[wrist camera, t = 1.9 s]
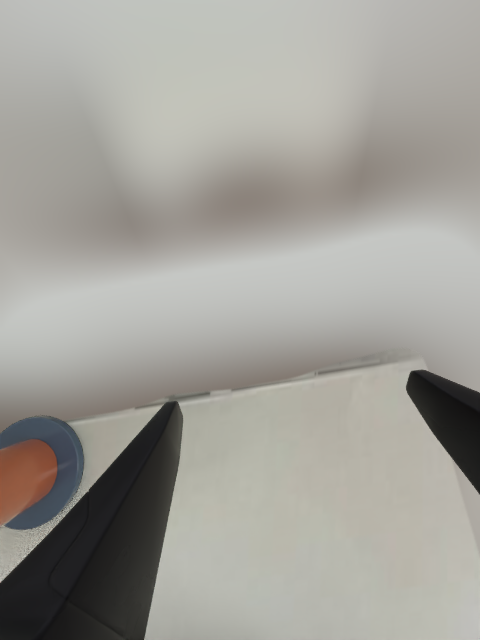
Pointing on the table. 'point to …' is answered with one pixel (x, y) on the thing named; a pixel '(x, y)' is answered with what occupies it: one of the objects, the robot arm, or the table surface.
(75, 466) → the plate
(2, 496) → the tumbler
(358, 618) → the table surface
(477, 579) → the table surface
